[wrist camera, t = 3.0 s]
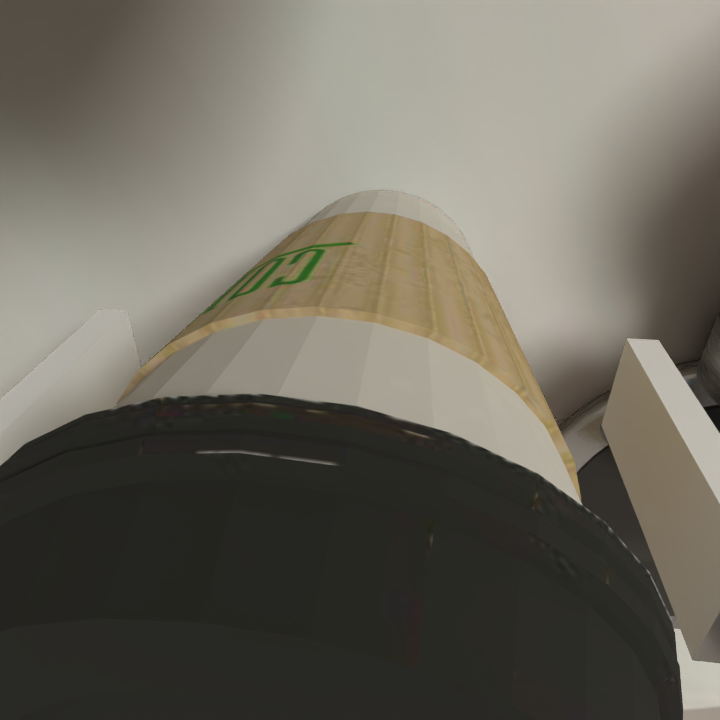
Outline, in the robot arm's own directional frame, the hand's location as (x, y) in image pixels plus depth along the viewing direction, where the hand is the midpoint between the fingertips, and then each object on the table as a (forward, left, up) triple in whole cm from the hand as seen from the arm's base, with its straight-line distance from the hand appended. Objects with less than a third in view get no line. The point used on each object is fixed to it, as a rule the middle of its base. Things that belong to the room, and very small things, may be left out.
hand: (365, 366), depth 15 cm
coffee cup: (0, 0, -5) cm, 5 cm away
